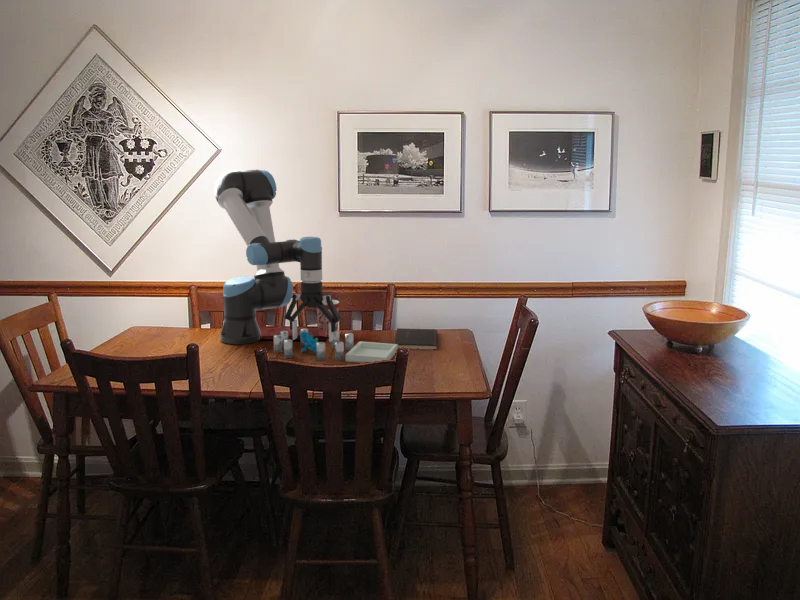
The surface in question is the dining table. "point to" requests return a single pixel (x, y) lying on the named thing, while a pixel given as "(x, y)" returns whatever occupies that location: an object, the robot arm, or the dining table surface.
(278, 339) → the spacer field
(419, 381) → the dining table surface
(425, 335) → the hardcover book
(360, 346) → the parts tray
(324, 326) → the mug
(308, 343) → the blue plastic irregular piece
